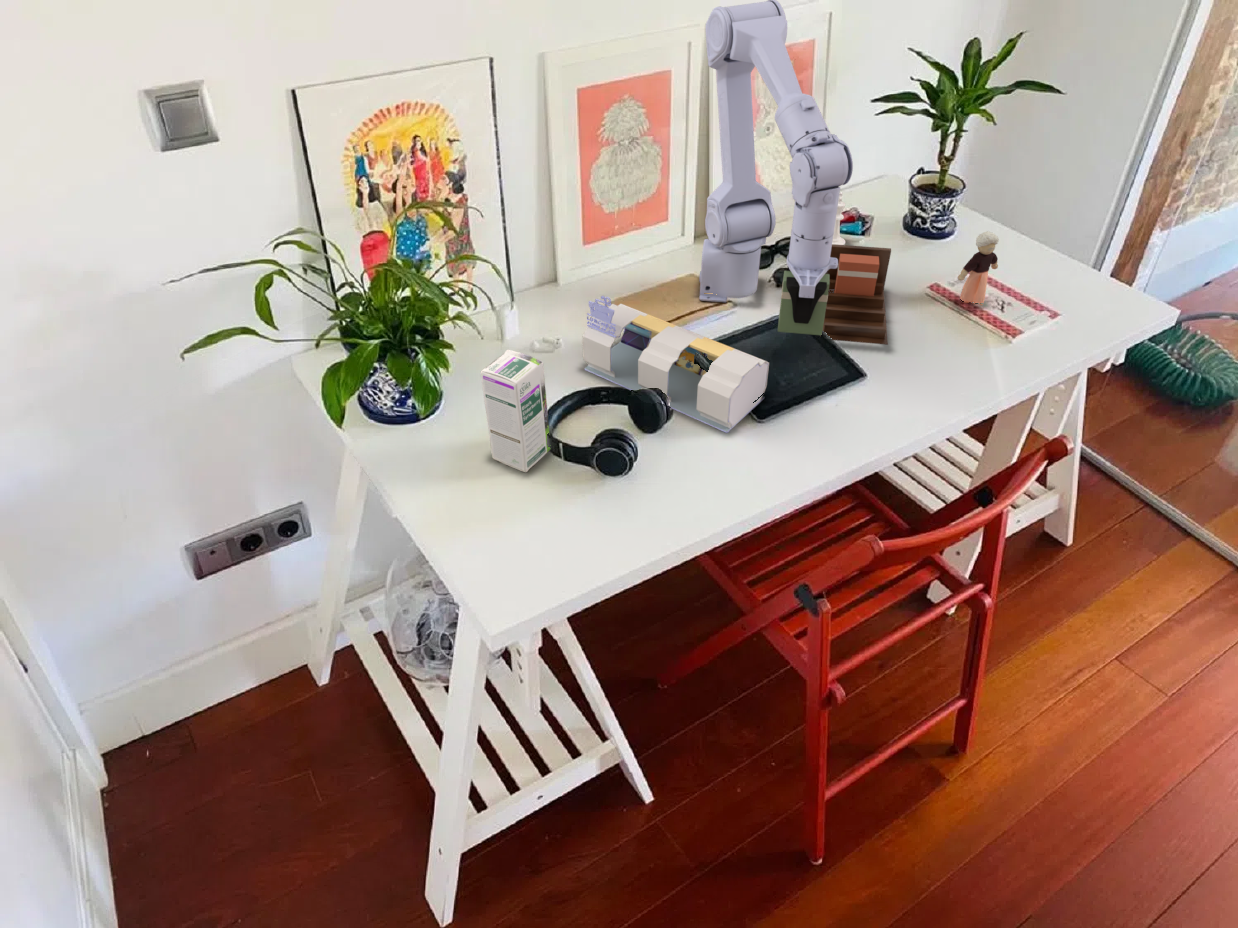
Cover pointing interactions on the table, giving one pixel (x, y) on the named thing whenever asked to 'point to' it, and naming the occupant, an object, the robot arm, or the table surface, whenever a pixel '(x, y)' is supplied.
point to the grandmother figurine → (979, 269)
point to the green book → (786, 312)
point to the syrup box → (516, 409)
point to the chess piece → (838, 223)
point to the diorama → (673, 364)
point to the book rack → (857, 303)
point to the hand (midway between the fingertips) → (801, 315)
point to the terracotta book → (857, 274)
